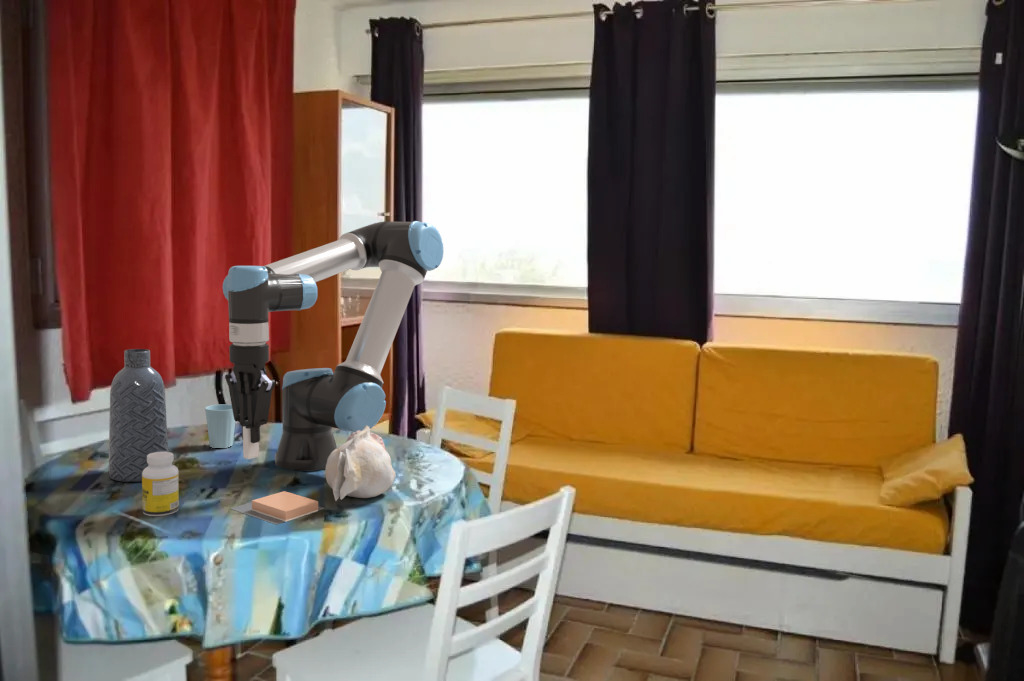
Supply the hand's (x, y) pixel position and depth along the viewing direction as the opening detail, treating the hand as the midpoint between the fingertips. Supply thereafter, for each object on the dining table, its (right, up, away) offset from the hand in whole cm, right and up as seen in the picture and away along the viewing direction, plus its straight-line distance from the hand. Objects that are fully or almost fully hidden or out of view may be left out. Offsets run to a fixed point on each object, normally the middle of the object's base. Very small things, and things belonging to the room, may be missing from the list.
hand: (251, 457), depth 159 cm
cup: (-22, -4, +42) cm, 48 cm away
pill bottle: (-15, -10, -8) cm, 20 cm away
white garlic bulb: (+19, -10, +7) cm, 23 cm away
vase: (-30, -7, +15) cm, 35 cm away
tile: (+4, -8, -3) cm, 10 cm away
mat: (+7, -10, -4) cm, 13 cm away
